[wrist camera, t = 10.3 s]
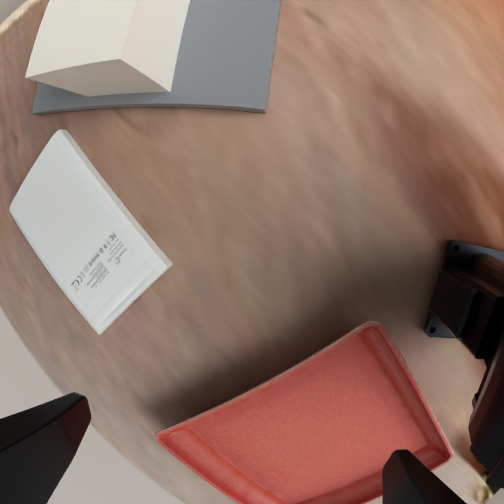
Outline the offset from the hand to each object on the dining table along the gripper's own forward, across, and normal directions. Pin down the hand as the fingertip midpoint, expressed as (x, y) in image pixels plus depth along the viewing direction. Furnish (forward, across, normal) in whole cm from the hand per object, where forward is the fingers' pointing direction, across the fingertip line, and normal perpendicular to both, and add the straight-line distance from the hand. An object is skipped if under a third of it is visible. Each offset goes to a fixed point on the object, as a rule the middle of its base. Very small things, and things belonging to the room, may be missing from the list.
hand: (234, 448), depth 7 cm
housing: (+11, +10, -16) cm, 22 cm away
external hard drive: (+13, +13, -2) cm, 18 cm away
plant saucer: (+13, -6, +12) cm, 18 cm away
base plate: (+12, +10, -16) cm, 22 cm away
